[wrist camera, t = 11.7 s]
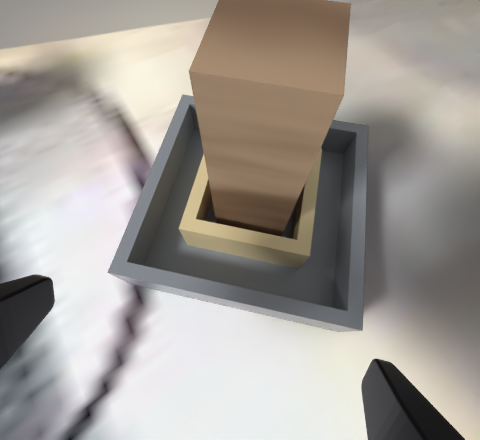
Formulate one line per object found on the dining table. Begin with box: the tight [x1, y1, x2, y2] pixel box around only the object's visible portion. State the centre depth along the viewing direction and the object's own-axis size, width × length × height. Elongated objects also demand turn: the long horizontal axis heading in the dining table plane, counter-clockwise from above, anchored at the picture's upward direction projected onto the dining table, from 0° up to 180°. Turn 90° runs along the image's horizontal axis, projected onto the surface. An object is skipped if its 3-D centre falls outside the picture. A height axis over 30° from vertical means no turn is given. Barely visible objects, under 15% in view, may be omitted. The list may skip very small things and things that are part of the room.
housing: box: [108, 95, 368, 332], centre depth 18 cm, size 14×14×4 cm
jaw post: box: [189, 0, 351, 237], centre depth 14 cm, size 4×4×12 cm
